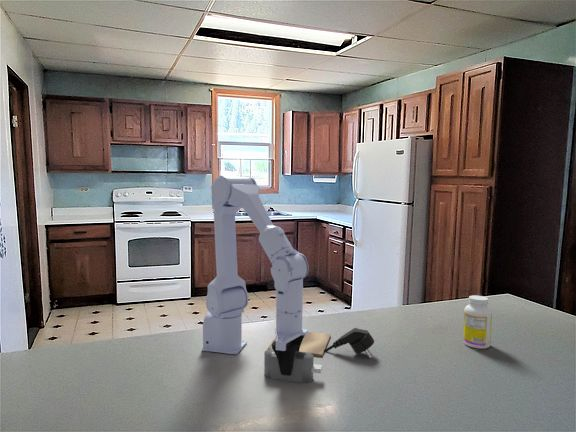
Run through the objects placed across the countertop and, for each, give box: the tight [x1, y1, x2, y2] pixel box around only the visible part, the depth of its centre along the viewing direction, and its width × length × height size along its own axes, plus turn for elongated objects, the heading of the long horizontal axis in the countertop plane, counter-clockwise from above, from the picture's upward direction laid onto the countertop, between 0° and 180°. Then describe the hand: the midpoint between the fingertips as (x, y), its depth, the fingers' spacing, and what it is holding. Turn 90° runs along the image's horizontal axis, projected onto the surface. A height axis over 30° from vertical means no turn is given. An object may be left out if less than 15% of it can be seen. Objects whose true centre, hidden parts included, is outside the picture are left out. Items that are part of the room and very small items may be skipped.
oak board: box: [267, 331, 331, 358], centre depth 109 cm, size 14×14×1 cm
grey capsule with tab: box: [263, 348, 323, 384], centre depth 90 cm, size 13×4×5 cm, turn 76°
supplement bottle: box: [462, 294, 493, 350], centre depth 109 cm, size 7×7×13 cm
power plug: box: [324, 327, 375, 359], centre depth 103 cm, size 6×8×12 cm
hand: (288, 369), depth 91 cm, fingers closed on grey capsule with tab, 4 cm apart
